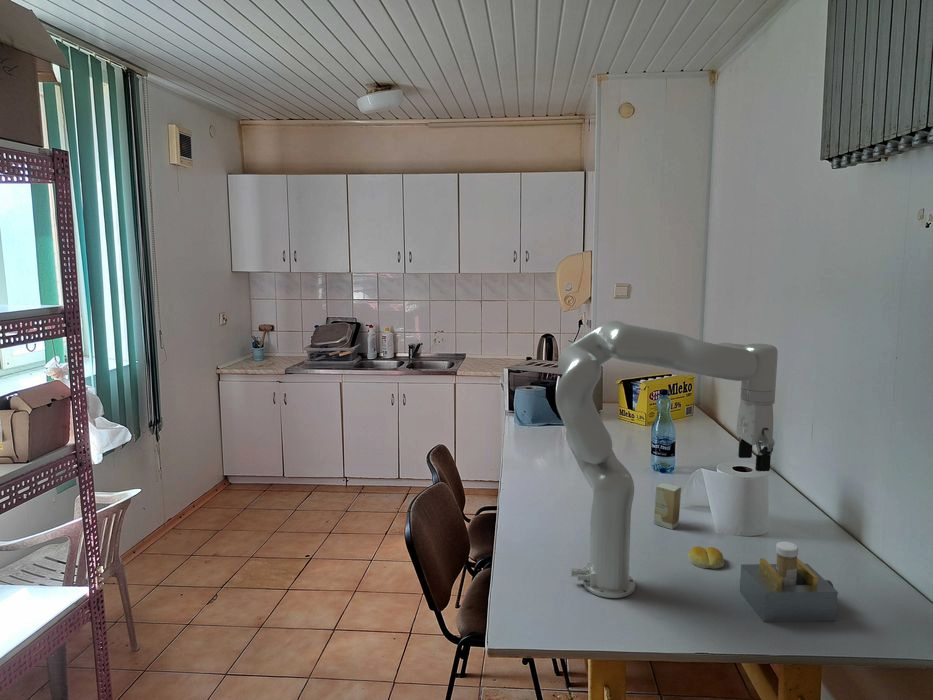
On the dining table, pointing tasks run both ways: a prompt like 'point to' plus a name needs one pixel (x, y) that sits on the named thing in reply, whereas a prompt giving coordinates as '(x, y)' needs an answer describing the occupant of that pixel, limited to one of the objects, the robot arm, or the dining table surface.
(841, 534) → the dining table surface
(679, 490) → the skincare box
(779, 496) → the dining table surface
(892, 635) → the dining table surface
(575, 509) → the dining table surface
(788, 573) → the sprinkles bottle
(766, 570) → the grey holder box
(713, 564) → the bread roll
